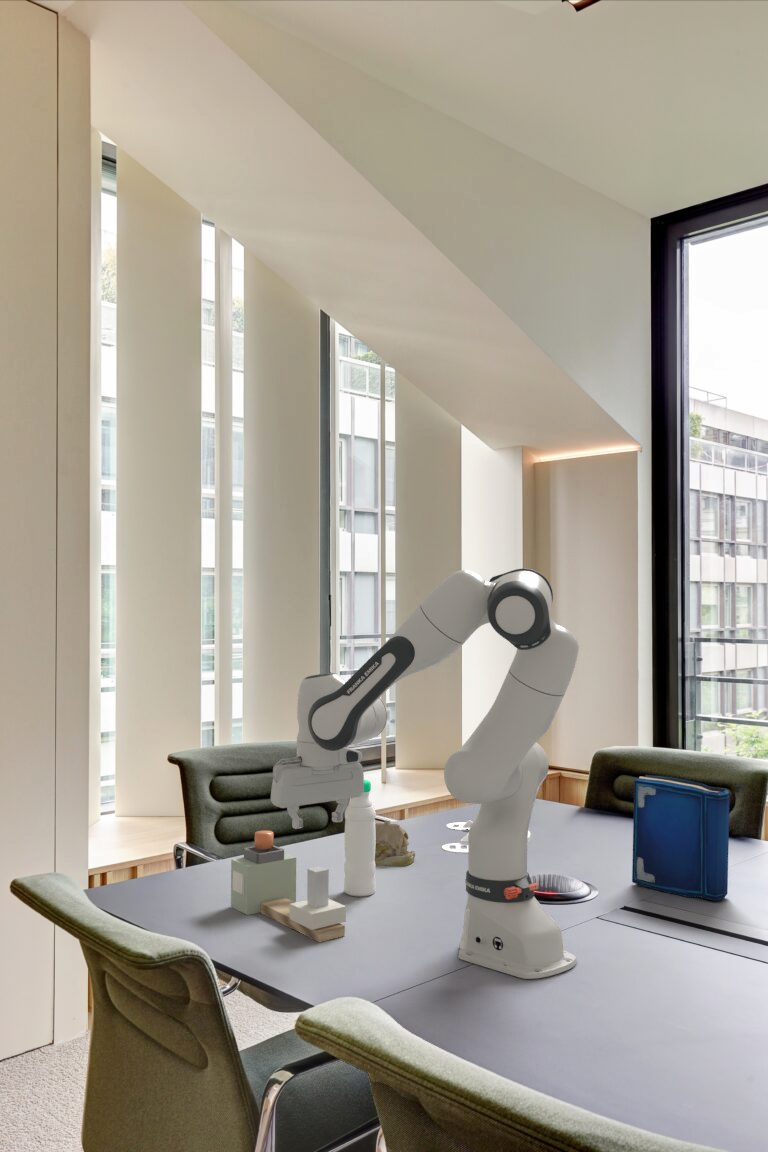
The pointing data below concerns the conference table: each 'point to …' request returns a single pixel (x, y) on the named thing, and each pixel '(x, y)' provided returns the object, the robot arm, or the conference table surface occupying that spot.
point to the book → (681, 837)
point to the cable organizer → (458, 845)
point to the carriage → (317, 903)
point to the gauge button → (264, 839)
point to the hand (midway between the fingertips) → (317, 824)
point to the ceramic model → (392, 845)
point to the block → (281, 913)
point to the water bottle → (360, 845)
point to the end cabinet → (262, 878)
